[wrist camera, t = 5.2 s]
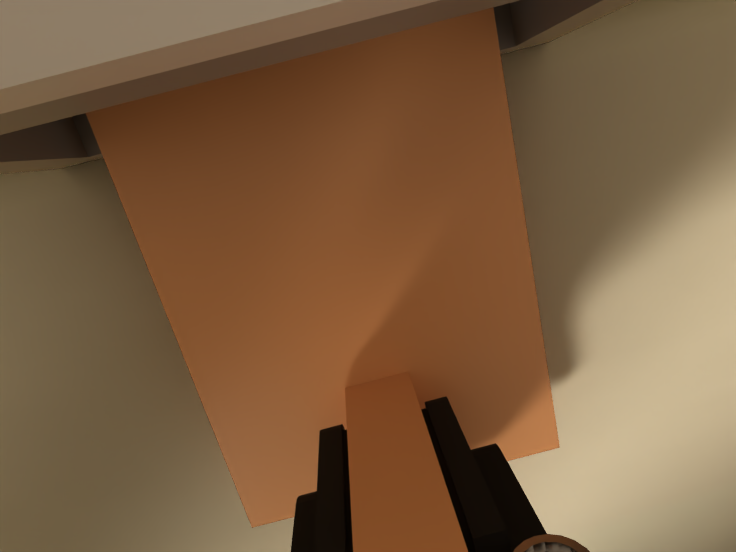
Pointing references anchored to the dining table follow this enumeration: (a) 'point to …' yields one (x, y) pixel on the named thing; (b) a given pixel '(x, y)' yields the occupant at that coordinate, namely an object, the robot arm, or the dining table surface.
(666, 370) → the dining table surface
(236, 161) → the orange stepped block
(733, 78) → the dining table surface
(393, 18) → the grey boxy piece
